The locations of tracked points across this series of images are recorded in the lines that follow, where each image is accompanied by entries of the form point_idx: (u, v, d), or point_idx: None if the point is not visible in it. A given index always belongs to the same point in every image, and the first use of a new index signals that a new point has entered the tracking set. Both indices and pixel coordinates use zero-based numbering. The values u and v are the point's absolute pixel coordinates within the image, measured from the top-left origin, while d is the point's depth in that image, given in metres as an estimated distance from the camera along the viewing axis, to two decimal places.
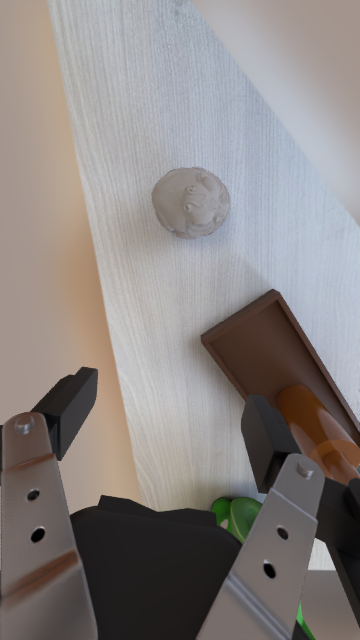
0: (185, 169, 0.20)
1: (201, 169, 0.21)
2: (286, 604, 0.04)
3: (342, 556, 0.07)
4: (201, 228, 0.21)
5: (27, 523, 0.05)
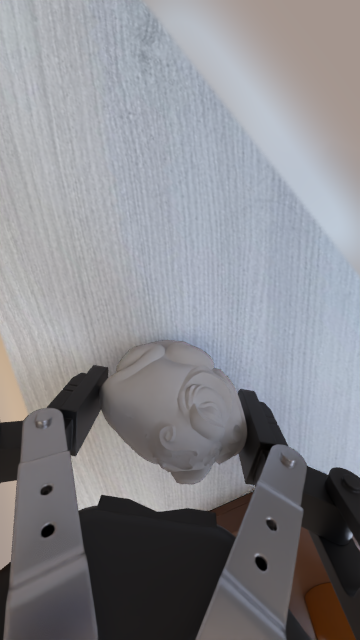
0: (158, 373, 0.10)
1: (190, 357, 0.11)
2: (286, 604, 0.04)
3: (325, 544, 0.08)
4: None
5: (38, 518, 0.05)
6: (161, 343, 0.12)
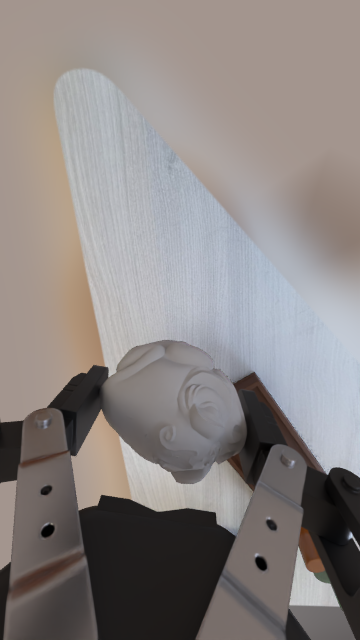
0: (158, 373, 0.10)
1: (190, 357, 0.11)
2: (286, 604, 0.04)
3: (325, 544, 0.08)
4: None
5: (38, 518, 0.05)
6: (161, 343, 0.12)
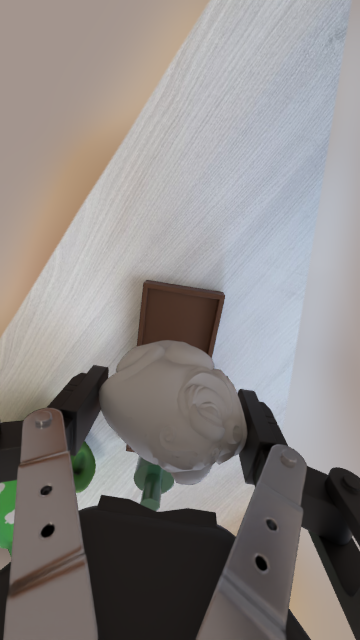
0: (157, 373, 0.10)
1: (190, 357, 0.11)
2: (286, 604, 0.04)
3: (325, 544, 0.08)
4: None
5: (38, 517, 0.05)
6: (161, 343, 0.12)
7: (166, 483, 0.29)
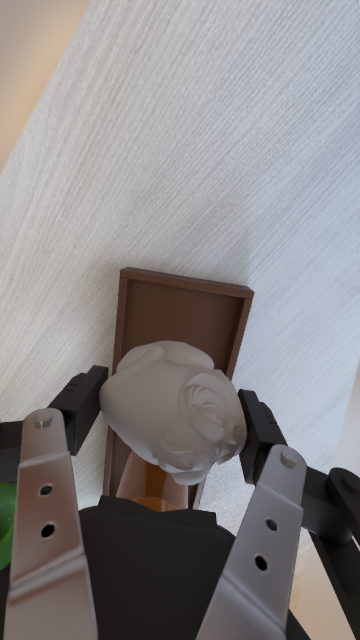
0: (157, 374, 0.10)
1: (190, 357, 0.11)
2: (286, 604, 0.04)
3: (325, 544, 0.08)
4: None
5: (38, 517, 0.05)
6: (161, 344, 0.12)
7: None
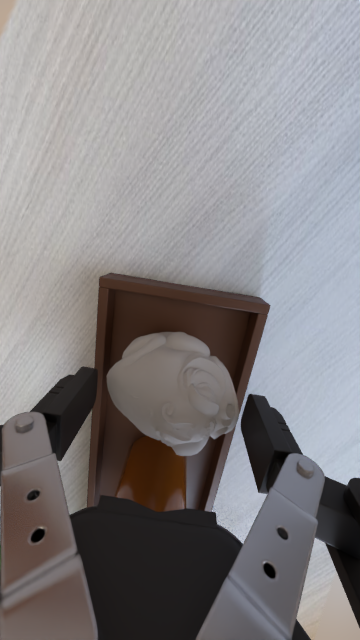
0: (160, 358, 0.11)
1: (189, 344, 0.12)
2: (286, 604, 0.04)
3: (342, 556, 0.07)
4: None
5: (27, 523, 0.05)
6: (162, 334, 0.14)
7: None
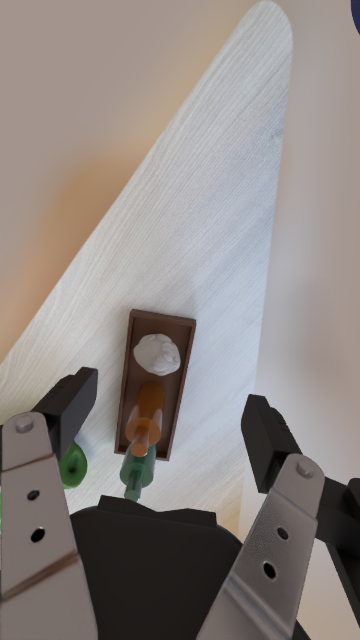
0: (153, 342, 0.33)
1: (163, 338, 0.34)
2: (286, 604, 0.04)
3: (342, 556, 0.07)
4: None
5: (27, 523, 0.05)
6: (154, 334, 0.36)
7: (147, 478, 0.35)
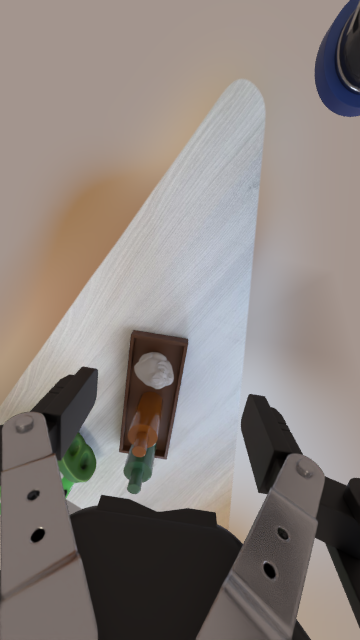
0: (150, 361, 0.39)
1: (159, 357, 0.40)
2: (286, 604, 0.04)
3: (342, 556, 0.07)
4: None
5: (27, 523, 0.05)
6: (151, 353, 0.42)
7: (146, 474, 0.42)
